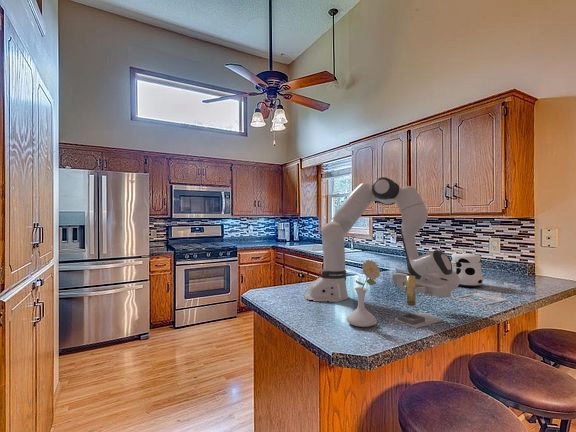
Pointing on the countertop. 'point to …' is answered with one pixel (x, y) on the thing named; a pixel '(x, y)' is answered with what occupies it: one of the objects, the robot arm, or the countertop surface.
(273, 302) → the countertop surface
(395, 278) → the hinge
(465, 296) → the photo frame
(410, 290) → the hinge pin
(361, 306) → the flower in vase
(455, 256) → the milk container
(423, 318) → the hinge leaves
